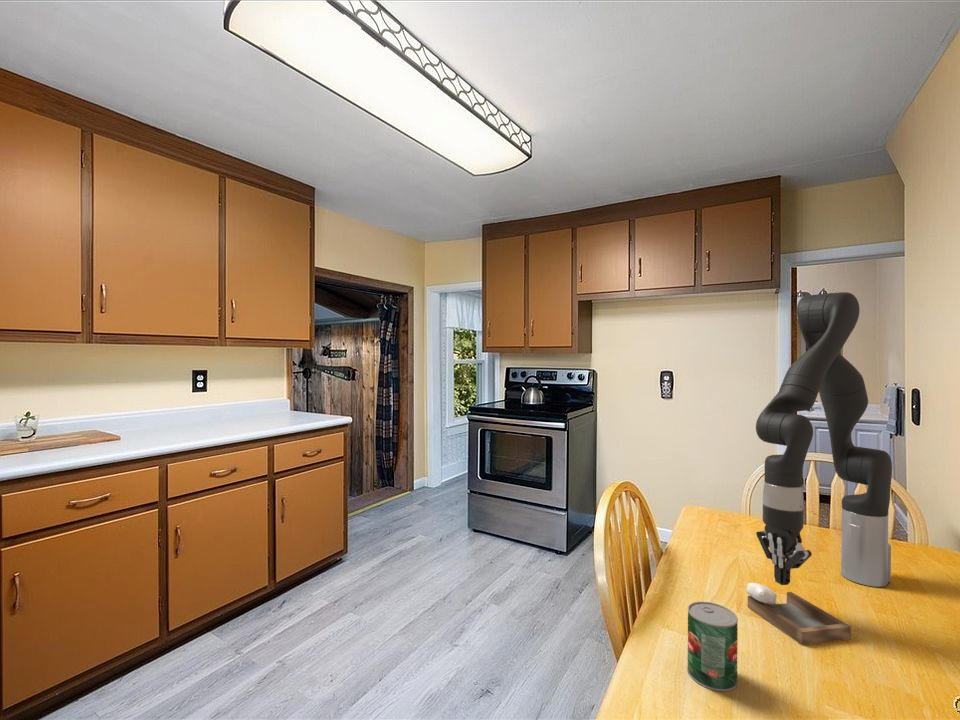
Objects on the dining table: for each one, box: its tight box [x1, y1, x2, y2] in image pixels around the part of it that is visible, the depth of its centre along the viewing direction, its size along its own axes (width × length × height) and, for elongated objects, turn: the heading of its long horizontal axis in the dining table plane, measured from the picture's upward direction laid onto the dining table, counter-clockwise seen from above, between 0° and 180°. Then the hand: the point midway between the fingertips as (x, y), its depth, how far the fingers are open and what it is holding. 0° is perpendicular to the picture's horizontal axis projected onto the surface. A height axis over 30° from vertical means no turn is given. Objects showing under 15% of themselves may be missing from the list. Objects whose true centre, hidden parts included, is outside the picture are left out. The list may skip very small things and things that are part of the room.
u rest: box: [747, 591, 852, 646], centre depth 100 cm, size 11×14×2 cm
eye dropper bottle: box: [745, 582, 778, 605], centre depth 104 cm, size 4×6×12 cm
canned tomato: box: [686, 601, 739, 692], centre depth 83 cm, size 8×8×11 cm
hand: (781, 583), depth 103 cm, fingers closed
